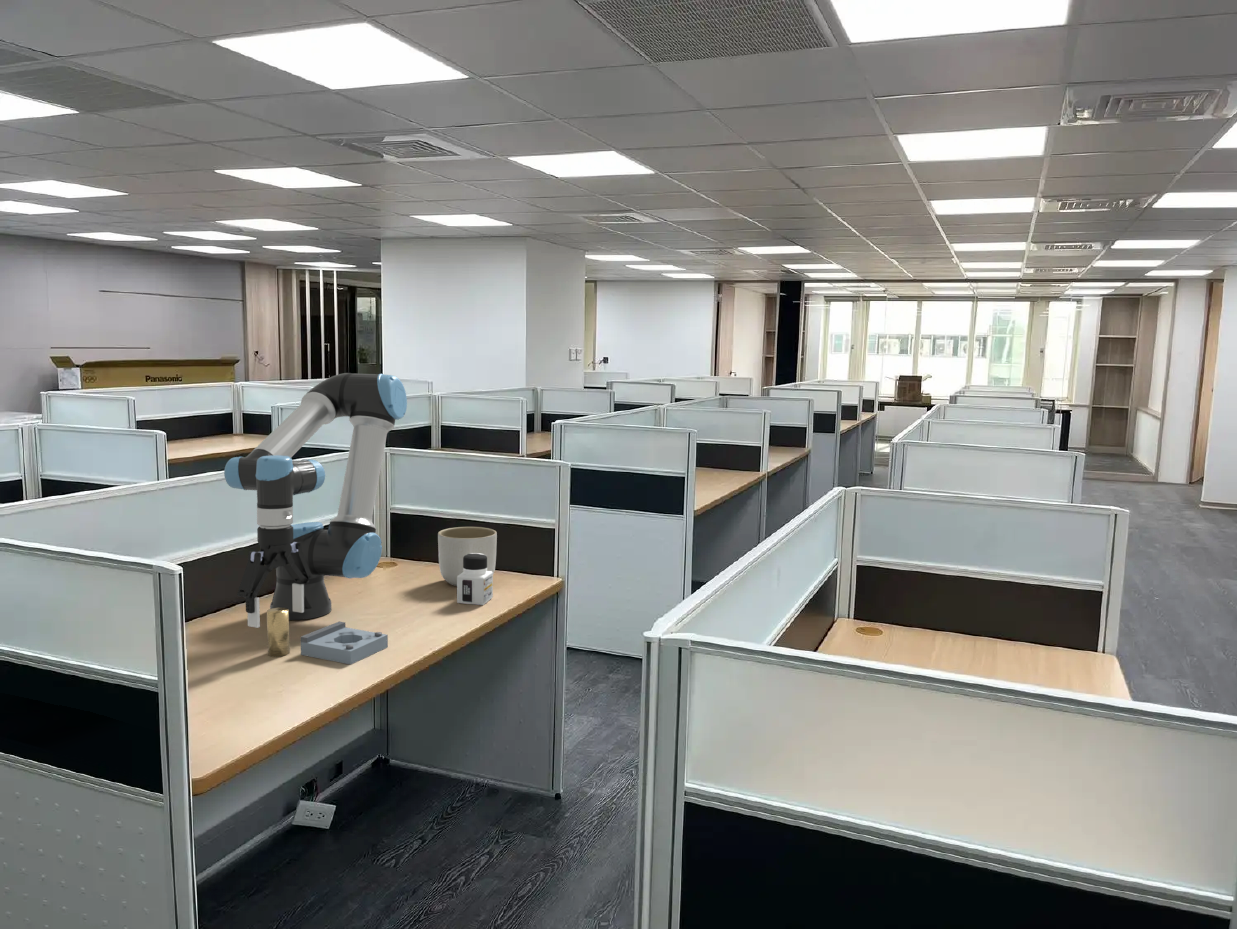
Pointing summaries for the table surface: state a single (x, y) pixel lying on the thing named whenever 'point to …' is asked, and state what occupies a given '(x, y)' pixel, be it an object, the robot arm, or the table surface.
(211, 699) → the table surface
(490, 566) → the planter
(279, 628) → the brass cylinder
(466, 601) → the container
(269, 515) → the robot arm
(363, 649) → the jig
